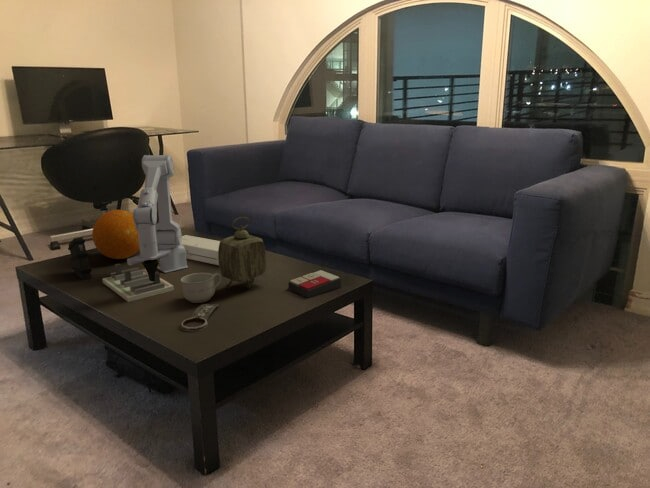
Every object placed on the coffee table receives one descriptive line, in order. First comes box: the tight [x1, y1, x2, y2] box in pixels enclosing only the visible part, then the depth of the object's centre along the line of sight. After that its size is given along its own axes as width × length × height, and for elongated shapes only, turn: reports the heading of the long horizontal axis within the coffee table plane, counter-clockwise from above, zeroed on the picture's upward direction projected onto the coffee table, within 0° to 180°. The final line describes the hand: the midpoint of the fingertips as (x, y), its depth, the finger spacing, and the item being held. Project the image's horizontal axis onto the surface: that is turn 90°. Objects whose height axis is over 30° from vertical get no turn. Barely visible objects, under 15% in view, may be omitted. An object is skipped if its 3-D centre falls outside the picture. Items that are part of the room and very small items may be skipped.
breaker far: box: [114, 263, 123, 276], centre depth 196 cm, size 2×2×5 cm
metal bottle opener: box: [180, 303, 221, 332], centre depth 166 cm, size 8×19×2 cm, turn 171°
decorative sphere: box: [91, 209, 140, 260], centre depth 221 cm, size 20×20×20 cm
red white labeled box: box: [287, 269, 342, 299], centre depth 189 cm, size 11×4×15 cm
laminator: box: [181, 234, 221, 266], centre depth 224 cm, size 34×12×6 cm, turn 58°
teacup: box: [180, 272, 223, 304], centre depth 180 cm, size 14×11×8 cm
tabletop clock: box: [218, 216, 267, 290], centre depth 187 cm, size 14×9×25 cm, turn 135°
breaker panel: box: [101, 266, 175, 303], centre depth 192 cm, size 16×24×3 cm, turn 40°
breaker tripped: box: [153, 271, 161, 284], centre depth 187 cm, size 2×2×5 cm
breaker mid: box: [124, 269, 132, 282], centre depth 190 cm, size 2×2×5 cm
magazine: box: [67, 236, 92, 281], centre depth 203 cm, size 4×13×15 cm, turn 39°
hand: (152, 280), depth 186 cm, fingers closed
